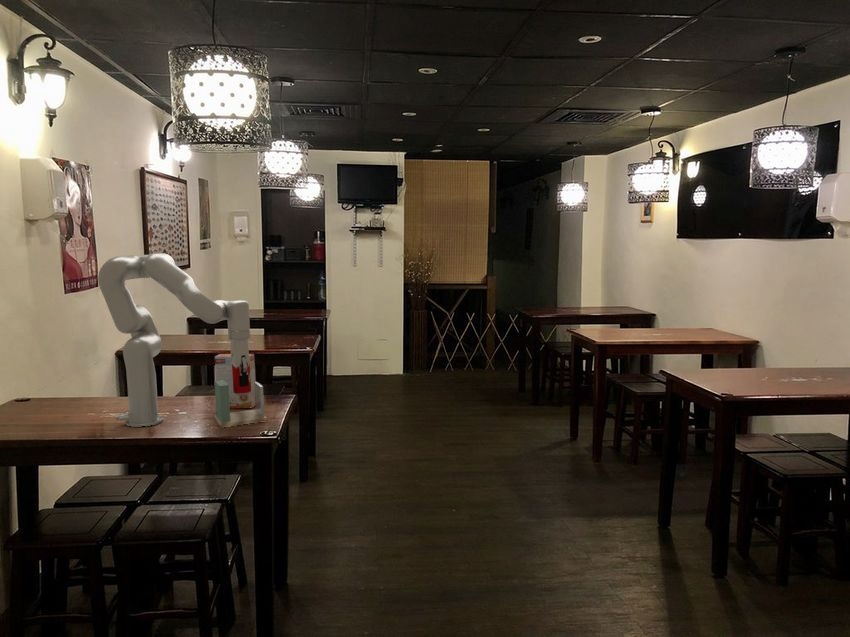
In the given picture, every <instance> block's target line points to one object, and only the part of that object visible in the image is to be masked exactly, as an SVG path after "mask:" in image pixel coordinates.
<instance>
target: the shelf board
mask: <svg viewBox="0 0 850 637" xmlns="http://www.w3.org/2000/svg"><path fill="white" fill-rule="evenodd" d="M213 419H214V420H216V421H217V422H216V421H215V422H216V423H217V424H218V426H219V425H220V426H219V427H220V429H225V428H224V427H226V428H232V427H231V426H234V427H238V426H237V425H241V426H244V425H243V424H248V425H250V424H249V423H255V422H261V421H267V422H268V417H267V416H266V415H265V414H264V416H263V417H261V416H260V415H259V414H258V413H257V412H256V410H255V409H246V410H240V411H239V410H238V411H234V412H232V411H230V421H228V422H221V421H220V420H219V419H218V417H217V416H216V413H215V414H213ZM255 424H256V423H255Z"/></svg>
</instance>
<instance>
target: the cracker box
mask: <svg viewBox="0 0 850 637" xmlns="http://www.w3.org/2000/svg"><path fill="white" fill-rule="evenodd" d="M249 364H250V376H251V392H250V393H249V394H246V395H236V394H235V393H234V392H233V375H232V365H231V353H219V354H217V355H215V356H214V366H215V368H214V370H215V381H217V380H224V381H225V382H226V383H227V384H228V385H229V405H230V409H235V408H250V407H253V406H255V386H254V382H256V365H255V364H256V363H255V354H254V353H249ZM253 408H254V407H253Z"/></svg>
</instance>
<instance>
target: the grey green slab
mask: <svg viewBox="0 0 850 637" xmlns="http://www.w3.org/2000/svg"><path fill="white" fill-rule="evenodd" d="M214 394H215V414H216V416H217V417H218V419H219V420H220V421H221V422H228V421H230V413H231V408H230V405H229V385H228V384H227V383H226V382H225V381H224V380H217V381H216V380H214Z"/></svg>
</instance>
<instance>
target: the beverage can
mask: <svg viewBox="0 0 850 637" xmlns="http://www.w3.org/2000/svg"><path fill="white" fill-rule="evenodd" d="M242 366H243V365H240V367H242ZM247 369H248V381H249V385H248V386H243V387H240V386H239V375H240V374H239V367H238V368H235V367H234V366H233V364H232V375H233V392H234V393H235V394H236V395H246V394H249V393H250V392H251V376H250V364H249V366H248V367H247ZM241 370H242V369H241Z"/></svg>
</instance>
